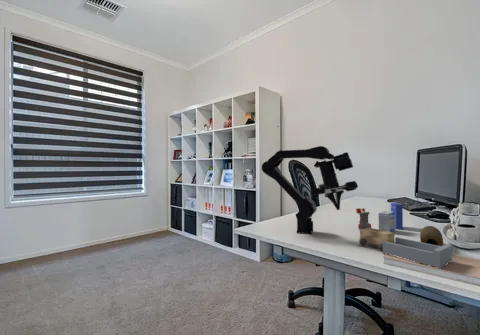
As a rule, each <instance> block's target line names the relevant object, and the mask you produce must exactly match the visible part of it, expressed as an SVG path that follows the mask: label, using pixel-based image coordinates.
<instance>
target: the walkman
mask: <svg viewBox="0 0 480 335" xmlns="http://www.w3.org/2000/svg"><path fill="white" fill-rule="evenodd" d="M388 205H389V210H388V211H391V212H395V230H403V229H404V228H403V227H404V225H403V223H404V222H403V221H404V220H403V217H404V214H403V204H402V203H399V202H396V201H395V202H394V201H393V202H389V204H388Z"/></svg>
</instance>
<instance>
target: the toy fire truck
mask: <svg viewBox="0 0 480 335" xmlns="http://www.w3.org/2000/svg"><path fill="white" fill-rule="evenodd" d="M364 212H366V208H355V213H357V214H358V215H359V214H360V213H364ZM358 222H359V223H358V227H357V228H358V230H359V231H360V220H359V221H358ZM368 228H372V224H371V223H370V222H368Z"/></svg>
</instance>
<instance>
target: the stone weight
mask: <svg viewBox="0 0 480 335" xmlns="http://www.w3.org/2000/svg"><path fill="white" fill-rule="evenodd" d="M419 233H420V234H419V239H420V242H422V243H427V244H432V245H437V246H443V245H444V239H443V238H444V237H443V234H442V232H441V231H440V229H438V228H437V227H436V226H433V225H428V226H424V227H423V228H421V230H420V232H419Z"/></svg>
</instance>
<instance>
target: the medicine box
mask: <svg viewBox="0 0 480 335" xmlns="http://www.w3.org/2000/svg"><path fill="white" fill-rule="evenodd" d="M378 230H383V231H388V232H395V231H396V229H395V212H391V211H389V210H385V211H382V212H378Z"/></svg>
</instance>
